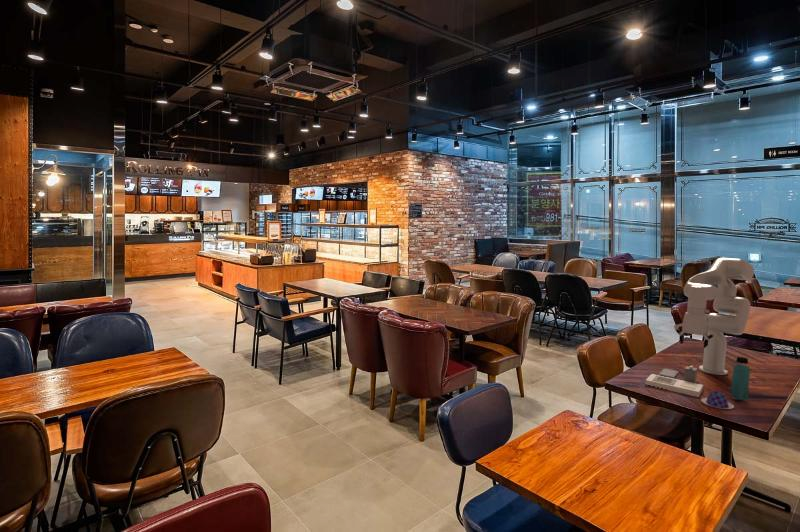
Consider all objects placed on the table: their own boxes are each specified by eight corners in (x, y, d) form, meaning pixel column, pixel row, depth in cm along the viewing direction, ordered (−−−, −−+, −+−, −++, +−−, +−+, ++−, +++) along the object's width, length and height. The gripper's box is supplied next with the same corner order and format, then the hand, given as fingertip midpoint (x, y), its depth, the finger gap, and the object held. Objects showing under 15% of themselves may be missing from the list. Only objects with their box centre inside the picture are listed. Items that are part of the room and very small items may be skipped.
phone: (663, 370, 243) (664, 368, 242) (678, 373, 238) (678, 371, 238) (658, 376, 233) (658, 374, 233) (673, 379, 228) (673, 377, 228)
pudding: (702, 397, 206) (703, 386, 205) (734, 404, 198) (735, 392, 198) (699, 405, 196) (700, 394, 196) (733, 413, 189) (734, 401, 188)
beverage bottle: (750, 404, 198) (755, 360, 195) (733, 402, 199) (738, 359, 197) (742, 398, 204) (747, 356, 202) (726, 397, 205) (730, 354, 203)
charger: (685, 381, 224) (686, 364, 223) (695, 383, 221) (697, 366, 220) (683, 384, 221) (685, 366, 220) (694, 386, 218) (696, 368, 217)
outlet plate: (651, 378, 228) (651, 373, 228) (702, 389, 214) (703, 384, 213) (645, 384, 219) (645, 379, 219) (698, 397, 205) (699, 391, 204)
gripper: (718, 312, 214) (715, 347, 216) (677, 307, 226) (674, 340, 227) (716, 314, 209) (713, 350, 210) (674, 309, 220) (671, 343, 222)
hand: (693, 345), depth 219 cm, fingers open, 9 cm apart
